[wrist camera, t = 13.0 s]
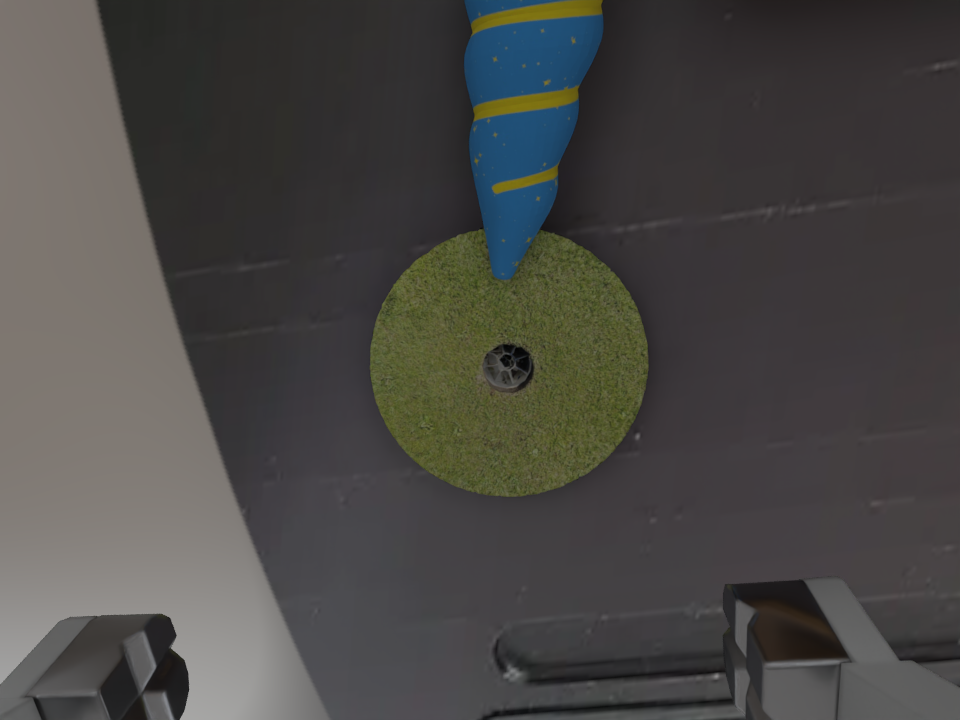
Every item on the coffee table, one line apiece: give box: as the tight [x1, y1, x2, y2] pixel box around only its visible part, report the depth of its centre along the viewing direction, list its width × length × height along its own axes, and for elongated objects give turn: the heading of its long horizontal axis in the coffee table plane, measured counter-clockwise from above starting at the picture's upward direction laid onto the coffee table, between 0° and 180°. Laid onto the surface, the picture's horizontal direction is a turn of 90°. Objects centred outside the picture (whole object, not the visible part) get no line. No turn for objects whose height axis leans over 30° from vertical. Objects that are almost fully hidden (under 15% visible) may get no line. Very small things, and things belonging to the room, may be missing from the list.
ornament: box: [464, 0, 603, 280], centre depth 24 cm, size 5×5×15 cm
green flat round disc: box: [370, 228, 649, 497], centre depth 29 cm, size 11×11×2 cm
